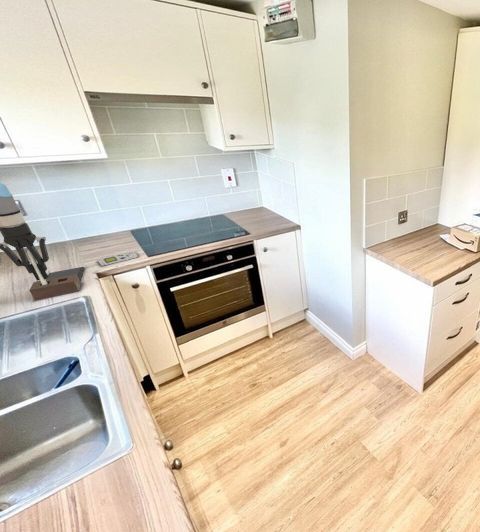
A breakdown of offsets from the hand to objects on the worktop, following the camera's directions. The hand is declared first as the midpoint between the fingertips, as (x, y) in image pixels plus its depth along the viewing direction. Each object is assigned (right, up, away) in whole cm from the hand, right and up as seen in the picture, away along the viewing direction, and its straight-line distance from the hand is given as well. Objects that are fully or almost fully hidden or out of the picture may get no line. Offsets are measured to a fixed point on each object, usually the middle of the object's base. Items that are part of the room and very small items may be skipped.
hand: (42, 278), depth 133 cm
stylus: (+1, -3, +1) cm, 3 cm away
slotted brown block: (+2, -6, +5) cm, 8 cm away
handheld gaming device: (+2, +9, +33) cm, 35 cm away
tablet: (-6, -1, +15) cm, 16 cm away
